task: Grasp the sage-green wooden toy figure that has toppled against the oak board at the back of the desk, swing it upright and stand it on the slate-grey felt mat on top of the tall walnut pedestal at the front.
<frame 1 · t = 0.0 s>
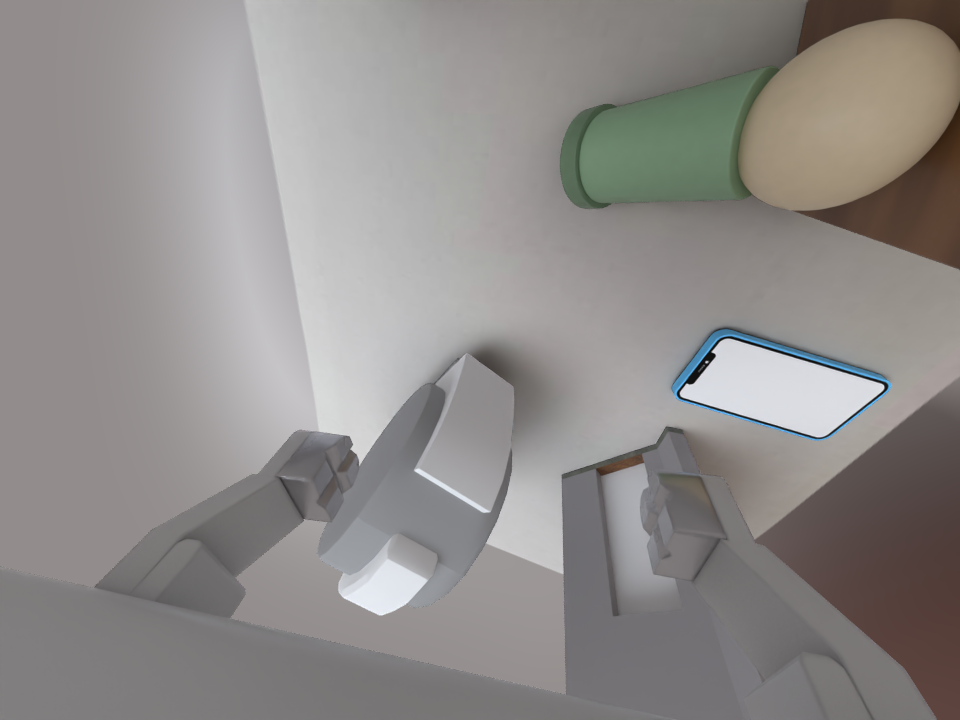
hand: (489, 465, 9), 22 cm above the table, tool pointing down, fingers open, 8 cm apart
smartphone: (769, 382, 31), on the table
backboard: (814, 107, 20), on the table
toy: (590, 161, 22), point 2 cm above the table, touching backboard
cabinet: (602, 479, 42), on the table
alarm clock: (450, 398, 39), on the table
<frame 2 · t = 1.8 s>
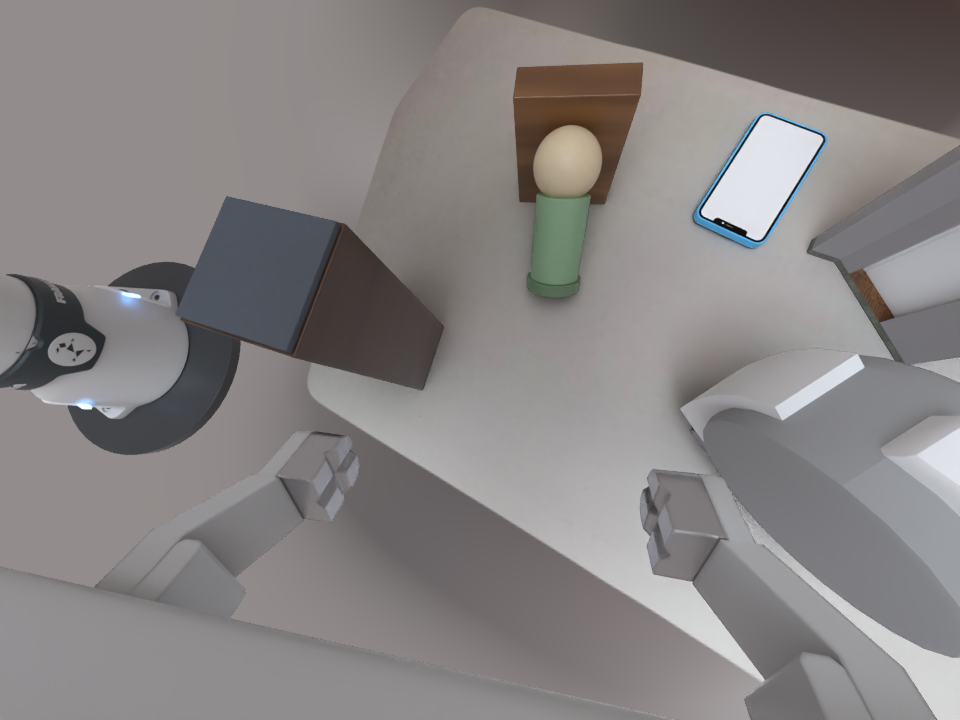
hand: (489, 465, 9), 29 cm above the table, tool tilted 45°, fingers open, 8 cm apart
pedestal: (403, 348, 41), on the table
smartphone: (754, 183, 38), on the table
backboard: (562, 191, 41), on the table
toy: (552, 286, 37), point 2 cm above the table, touching backboard
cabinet: (907, 320, 34), on the table
mat: (260, 272, 20), resting on pedestal
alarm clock: (747, 462, 34), on the table
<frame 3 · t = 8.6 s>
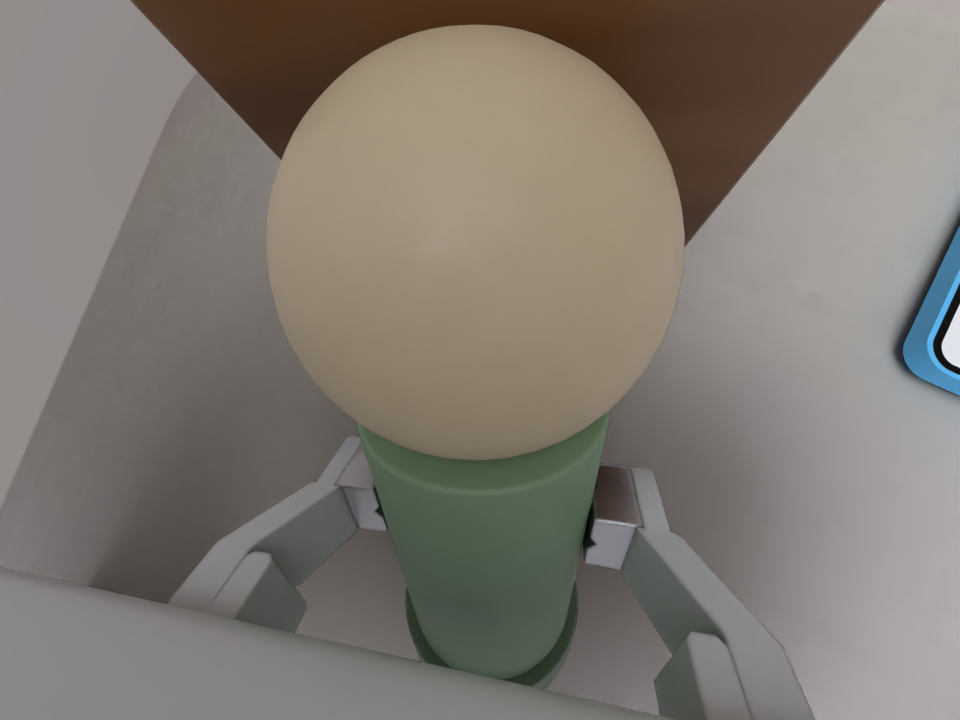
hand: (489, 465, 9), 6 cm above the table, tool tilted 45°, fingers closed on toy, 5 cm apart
backboard: (521, 278, 16), on the table
toy: (491, 598, 12), point 2 cm above the table, touching backboard, gripper
when the fingers open (29 cm above the table, at t = 20.5 s): toy stays where it is, resting on mat.
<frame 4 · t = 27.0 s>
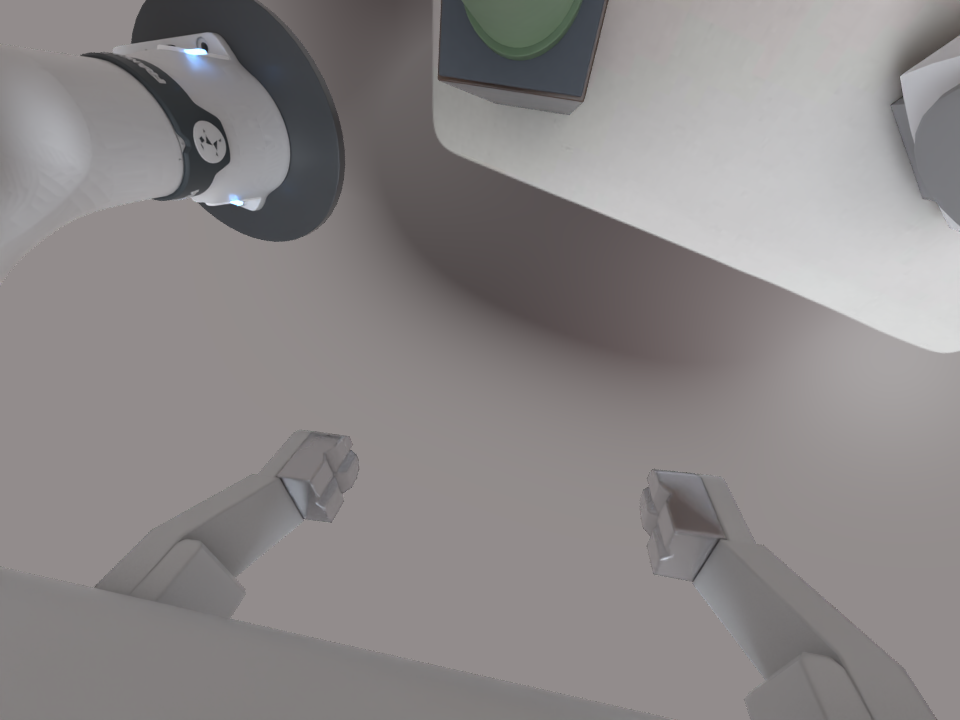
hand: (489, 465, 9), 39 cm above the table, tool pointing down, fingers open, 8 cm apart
pedestal: (540, 59, 34), on the table
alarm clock: (942, 132, 32), on the table
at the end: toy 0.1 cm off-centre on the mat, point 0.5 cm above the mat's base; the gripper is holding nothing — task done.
